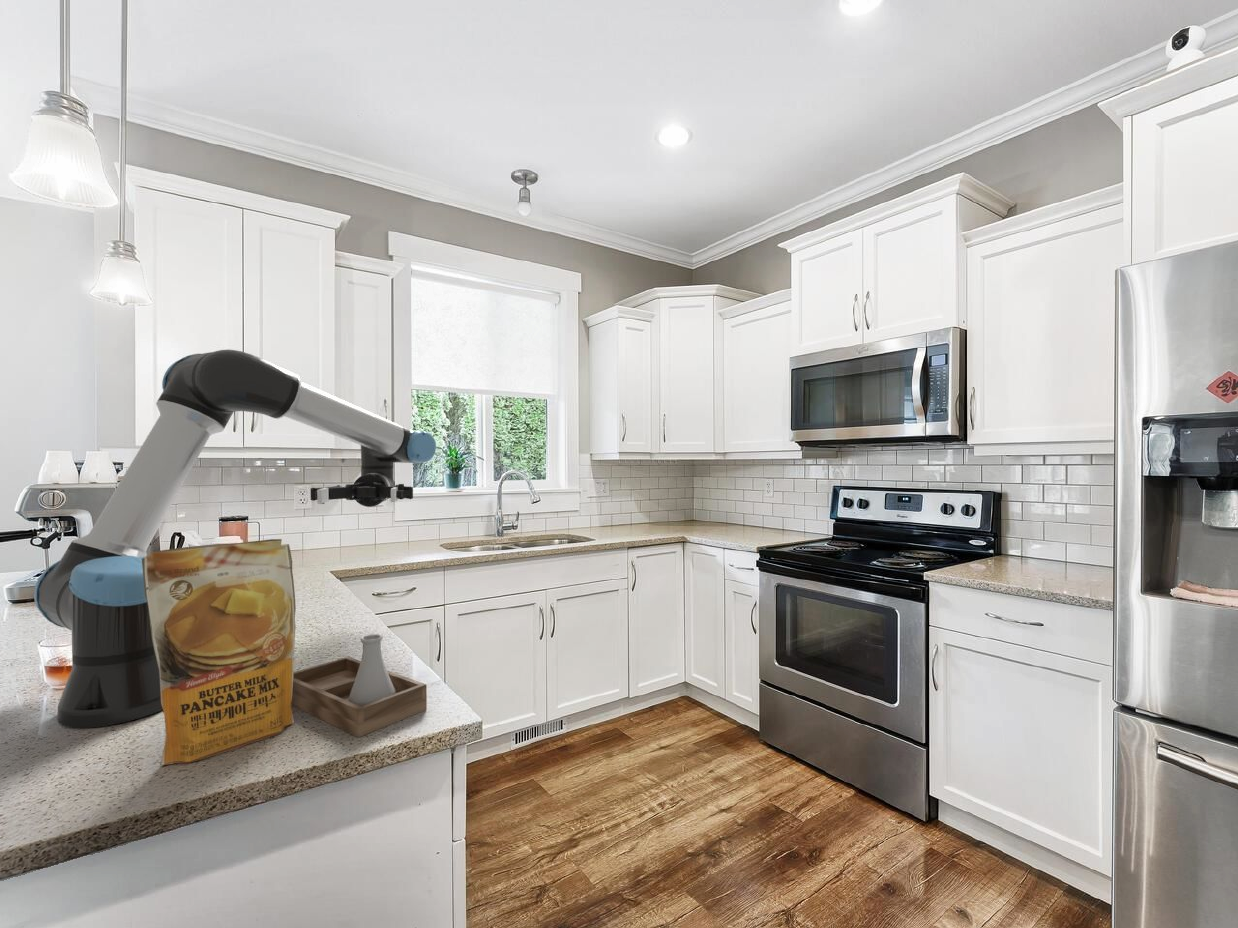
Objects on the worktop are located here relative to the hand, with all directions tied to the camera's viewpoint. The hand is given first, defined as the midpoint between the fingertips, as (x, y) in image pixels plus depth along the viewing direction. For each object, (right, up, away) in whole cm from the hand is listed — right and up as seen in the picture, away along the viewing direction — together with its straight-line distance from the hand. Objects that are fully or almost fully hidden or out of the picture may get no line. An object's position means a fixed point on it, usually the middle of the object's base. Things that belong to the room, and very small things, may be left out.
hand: (356, 496), depth 121 cm
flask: (+14, -31, -26) cm, 43 cm away
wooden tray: (+9, -33, -23) cm, 41 cm away
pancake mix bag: (-3, -33, -36) cm, 49 cm away
